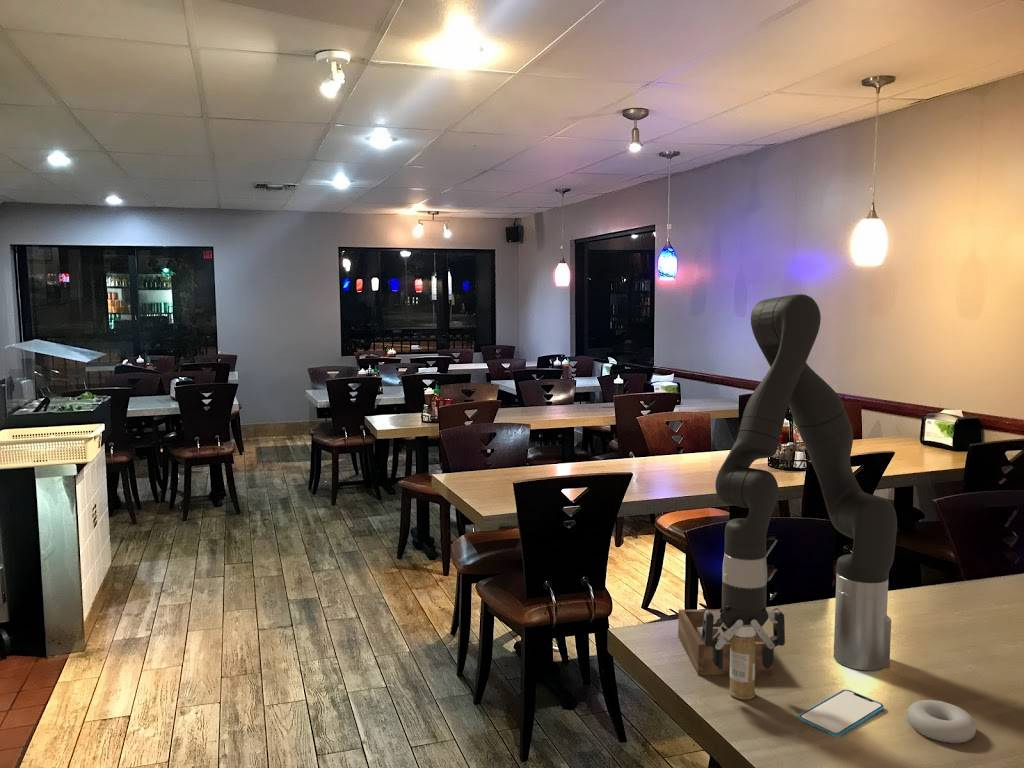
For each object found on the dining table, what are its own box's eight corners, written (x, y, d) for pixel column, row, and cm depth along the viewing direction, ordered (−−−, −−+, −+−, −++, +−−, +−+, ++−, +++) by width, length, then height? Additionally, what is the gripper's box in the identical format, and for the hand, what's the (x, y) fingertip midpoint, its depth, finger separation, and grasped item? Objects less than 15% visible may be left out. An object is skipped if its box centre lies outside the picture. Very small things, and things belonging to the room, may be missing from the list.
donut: (919, 709, 133) (896, 729, 126) (920, 690, 133) (897, 709, 126) (984, 732, 126) (963, 755, 119) (985, 712, 126) (965, 733, 119)
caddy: (744, 636, 162) (745, 609, 162) (771, 674, 145) (772, 643, 145) (678, 637, 162) (678, 609, 162) (698, 675, 145) (698, 644, 145)
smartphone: (796, 716, 130) (845, 688, 139) (795, 722, 130) (845, 694, 139) (837, 735, 124) (886, 705, 132) (837, 742, 124) (886, 711, 133)
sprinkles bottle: (760, 696, 137) (762, 623, 136) (743, 703, 135) (745, 629, 134) (740, 685, 141) (741, 614, 140) (723, 692, 139) (724, 620, 137)
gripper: (777, 571, 140) (774, 657, 141) (698, 572, 140) (697, 658, 141) (792, 586, 132) (789, 676, 134) (709, 586, 132) (707, 677, 134)
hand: (742, 667), depth 137 cm, fingers open, 8 cm apart
